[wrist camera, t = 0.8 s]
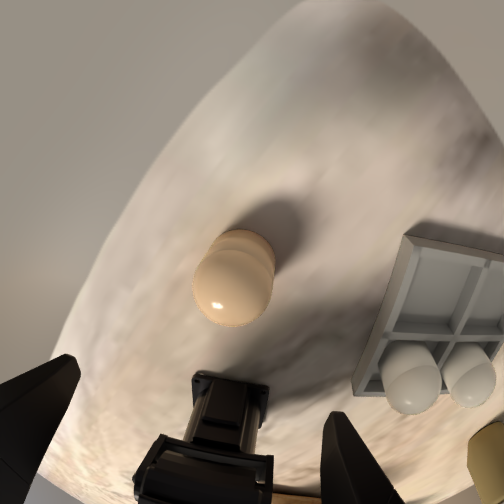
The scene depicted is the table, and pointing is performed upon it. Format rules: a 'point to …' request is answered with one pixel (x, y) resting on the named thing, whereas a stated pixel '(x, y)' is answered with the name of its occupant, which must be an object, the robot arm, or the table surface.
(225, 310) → the brown egg
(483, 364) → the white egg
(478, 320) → the egg carton
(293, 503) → the stone cup
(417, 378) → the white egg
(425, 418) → the table surface
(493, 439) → the squeeze bottle
